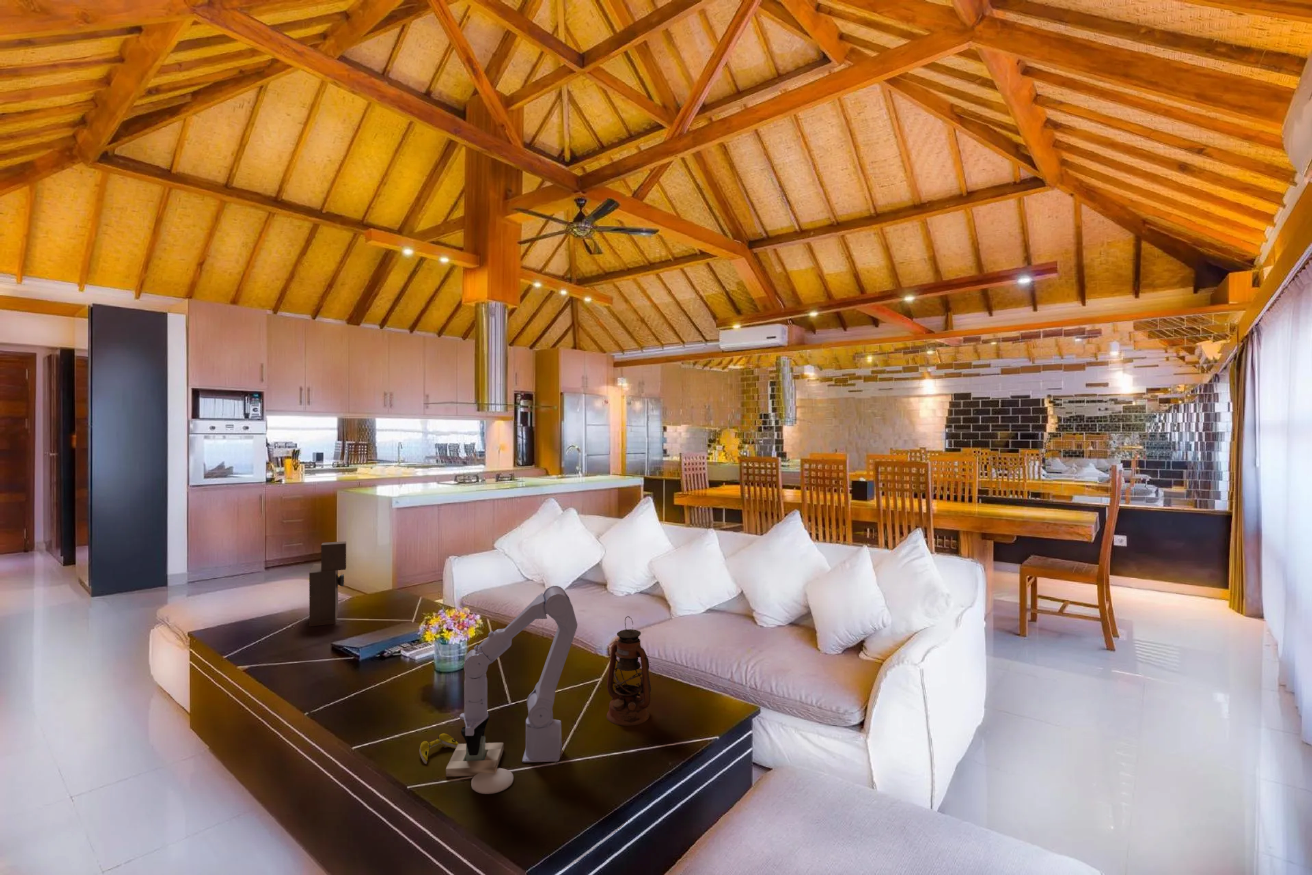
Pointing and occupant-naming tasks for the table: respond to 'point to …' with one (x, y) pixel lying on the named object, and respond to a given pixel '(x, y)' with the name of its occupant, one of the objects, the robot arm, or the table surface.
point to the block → (480, 754)
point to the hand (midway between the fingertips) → (475, 749)
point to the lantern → (626, 698)
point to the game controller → (442, 739)
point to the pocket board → (472, 768)
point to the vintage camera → (326, 584)
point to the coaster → (492, 781)
